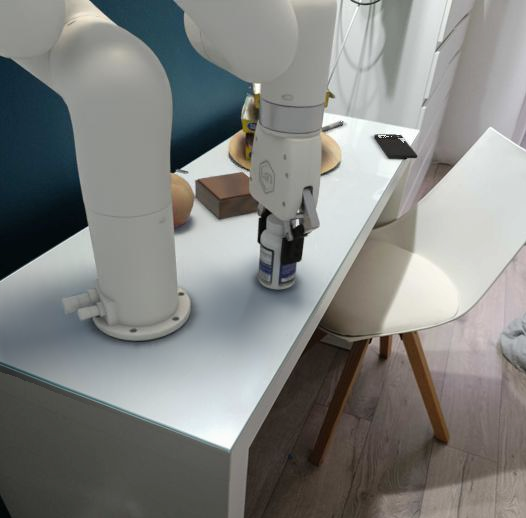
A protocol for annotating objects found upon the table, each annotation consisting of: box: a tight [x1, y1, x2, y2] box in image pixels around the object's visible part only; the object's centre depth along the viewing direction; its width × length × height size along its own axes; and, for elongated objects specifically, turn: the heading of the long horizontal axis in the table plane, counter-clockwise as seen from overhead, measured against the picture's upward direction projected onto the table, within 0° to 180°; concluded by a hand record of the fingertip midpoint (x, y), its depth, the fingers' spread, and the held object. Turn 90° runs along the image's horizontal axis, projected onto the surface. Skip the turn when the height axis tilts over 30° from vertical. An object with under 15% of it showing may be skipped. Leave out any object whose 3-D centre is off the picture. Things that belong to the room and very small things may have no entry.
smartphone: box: [373, 133, 418, 159], centre depth 121 cm, size 7×1×15 cm
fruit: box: [170, 172, 195, 228], centre depth 83 cm, size 8×8×8 cm
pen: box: [322, 120, 345, 133], centre depth 129 cm, size 1×14×1 cm
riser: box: [194, 171, 258, 220], centre depth 91 cm, size 10×10×4 cm
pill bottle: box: [257, 214, 298, 290], centre depth 70 cm, size 5×5×10 cm
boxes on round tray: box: [228, 83, 342, 174], centre depth 107 cm, size 25×25×17 cm
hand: (279, 250), depth 70 cm, fingers closed on pill bottle, 5 cm apart
